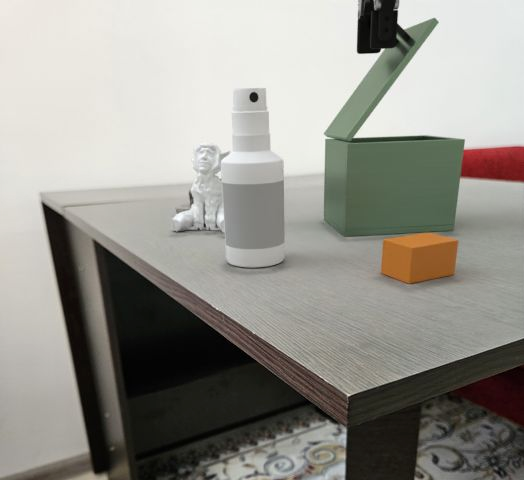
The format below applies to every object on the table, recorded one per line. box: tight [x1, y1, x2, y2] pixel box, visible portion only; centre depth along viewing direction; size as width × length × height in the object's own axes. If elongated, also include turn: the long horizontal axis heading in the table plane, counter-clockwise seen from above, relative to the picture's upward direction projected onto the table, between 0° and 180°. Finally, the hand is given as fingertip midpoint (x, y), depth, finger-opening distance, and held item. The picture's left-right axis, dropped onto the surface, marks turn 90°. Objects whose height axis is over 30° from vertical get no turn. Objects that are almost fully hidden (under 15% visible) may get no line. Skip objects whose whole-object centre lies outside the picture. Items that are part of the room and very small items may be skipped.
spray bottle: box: [220, 87, 286, 269], centre depth 57 cm, size 7×7×18 cm
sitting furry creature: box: [169, 141, 231, 234], centre depth 77 cm, size 10×9×12 cm
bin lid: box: [323, 17, 440, 141], centre depth 69 cm, size 16×13×6 cm
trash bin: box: [323, 134, 466, 237], centre depth 75 cm, size 16×13×12 cm
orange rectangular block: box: [380, 232, 459, 285], centre depth 54 cm, size 6×4×4 cm
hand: (375, 49), depth 68 cm, fingers closed on bin lid, 5 cm apart
